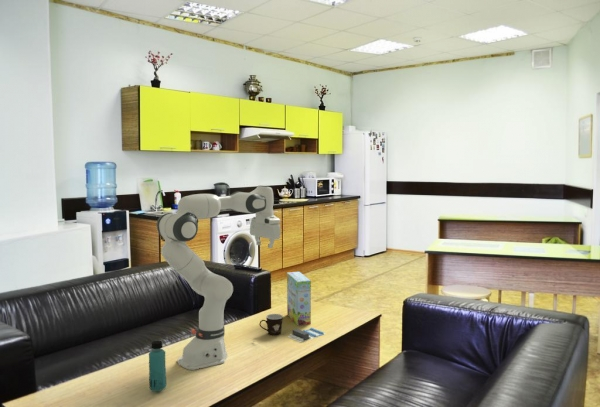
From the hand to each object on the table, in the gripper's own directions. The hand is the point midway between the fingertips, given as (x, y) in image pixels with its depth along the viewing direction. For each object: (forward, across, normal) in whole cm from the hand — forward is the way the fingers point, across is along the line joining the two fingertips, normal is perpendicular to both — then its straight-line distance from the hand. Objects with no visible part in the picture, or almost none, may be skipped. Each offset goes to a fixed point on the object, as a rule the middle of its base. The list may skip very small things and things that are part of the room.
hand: (264, 246), depth 233 cm
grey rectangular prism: (+47, +11, +15) cm, 50 cm away
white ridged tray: (+48, +11, +19) cm, 53 cm away
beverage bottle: (+48, +14, -64) cm, 81 cm away
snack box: (+48, -11, +33) cm, 60 cm away
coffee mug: (+48, -3, +7) cm, 49 cm away
